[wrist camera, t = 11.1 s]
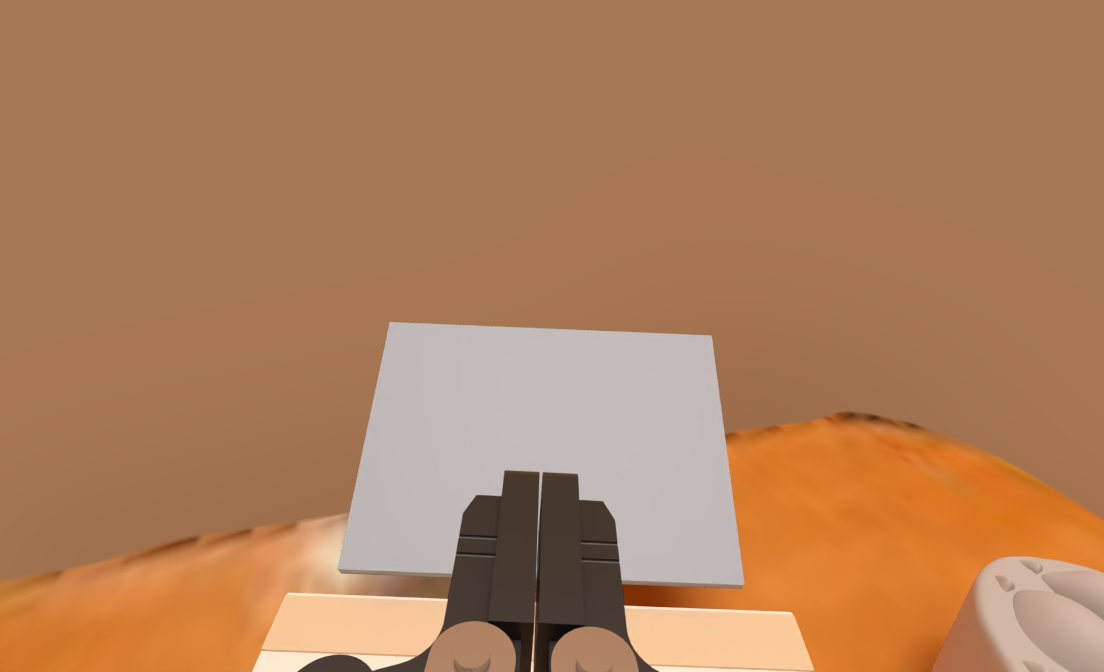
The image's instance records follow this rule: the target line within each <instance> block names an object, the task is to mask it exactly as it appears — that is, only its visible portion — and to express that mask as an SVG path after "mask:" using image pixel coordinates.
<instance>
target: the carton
mask: <svg viewBox="0 0 1104 672" xmlns="http://www.w3.org/2000/svg"><path fill="white" fill-rule="evenodd" d="M447 601H448V599H437V598H412V597H386V596H360V595H334V594H308V593H288V594H287V595H285V598H284V600H283V602H282V604H281V606H280V609H279V611H278V613H277V615H276V617H275V620H274V622H273V624H272V626H271V628H270V631H269V633H268V635H267V637H266V639H265V642H264V644H263V646H262V648H261V653H260V656H259V658H258V660H257V662H256V664H255V667H254V669H253V671H252V672H298V671H299V670H300V669H301V668H303V667H304V666H306V665H307V664H309V663H311V662H312V661H314V660H316V659H319V658H322V657H325V656H330V655H338V654H342V655H350V656H353V657H356V658H358V659H360V660H362V661H363V662H365V663H366V664H367V665H368V666H369V667H370V668H371V670H372V671H373V670H377V669H381V668H385V667H388V666H392V665H396V664H400V663H403V662H406V661H408V660H410V659H412V658H415V657H416V656H418V655H419V654H421V653H423V652H424V651H425V650H426V649H427V648H429V647H430V646H431V644H432V643H433V642H434V641H435V640H436V638H437V637H438V635H439V633H440V631H441V629H442V626H443V623H444V618H445V612H446V607H447ZM535 605H536V602H535ZM624 607H625V616H626V626H627V632H628V637H629V639H630V642H631V644H632V646H633V648H634V649H635V651H636V652H637V653H638V655H639V656H640V657H641V658H642V659H643V660H644V661H645V662H646V663H647V664H649V665H650V666H651V667H652V668H654V669H656V670H657V671H659V672H814V668H813V665H812V663H811V660H810V657H809V655H808V652H807V649H806V646H805V644H804V641H803V638H802V636H801V633H800V630H799V628H798V625H797V622H796V619H795V617H794V615H793V614H792V612H773V611H747V610H721V609H695V608H670V607H644V606H624ZM534 634H535V620H534ZM533 663H534V635H533V649H532V663H531V672H533Z"/></svg>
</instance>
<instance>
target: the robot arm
mask: <svg viewBox="0 0 1104 672" xmlns="http://www.w3.org/2000/svg"><path fill="white" fill-rule="evenodd" d="M539 479H540V472H531V471H512V470H505V471H504V479H503V488H502V496H491V495H476V496H475V498H474V499H473V500H472V502H471V503H470V504H469V506H468V507H467V508H466V510H465V511H464V512H463V515H462V521H461V527H460V533H459V538H458V544H457V550H456V556H455V561H454V567H453V572H452V578H451V584H450V589H449V595H448V601H447V607H446V612H445V618H444V623H443V626H442V629H441V631H440V633H439V635H438V637H437V638H436V640H435V641H434V642H433V643H432V644H431V646H430V647H429V648H427V649H426V650H425V651H424V652H423V653H421V654H419V655H418V656H416V657H415V658H412V659H410V660H408V661H406V662H403V663H400V664H396V665H392V666H388V667H385V668H381V669H377V670H373V671H372V670H371V668H370V667H369V666H368V665H367V664H366V663H365V662H363V661H362V660H360V659H358V658H356V657H353V656H350V655H342V654H338V655H330V656H325V657H322V658H319V659H316V660H314V661H312V662H311V663H309V664H307V665H306V666H304V667H303V668H301V669H300V670H299V671H298V672H531V663H532V649H533V635H534V663H533V672H659V671H657V670H656V669H654V668H652V667H651V666H650V665H649V664H647V663H646V662H645V661H644V660H643V659H642V658H641V657H640V656H639V655H638V653H637V652H636V651H635V649H634V648H633V646H632V644H631V642H630V639H629V637H628V632H627V626H626V616H625V607H624V598H623V588H622V579H621V569H620V564H619V551H618V546H617V543H618V541H617V532H616V523H615V519H614V518H613V516H612V515H611V513H610V511H609V510H608V508H607V507H606V505H605V504H604V502H603V501H592V500H579V481H578V474H572V473H553V472H543V474H542V487H541V502H540V516H539V531H538V507H539ZM537 535H538V549H537ZM536 564H537V576H536ZM535 592H536V605H535ZM534 620H535V634H534Z"/></svg>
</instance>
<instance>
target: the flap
mask: <svg viewBox="0 0 1104 672" xmlns="http://www.w3.org/2000/svg"><path fill="white" fill-rule="evenodd" d="M505 470H512V471H531V472H540V479H539V507H538V531H539V516H540V502H541V487H542V474H543V472H553V473H572V474H578V481H579V500H592V501H603V502H604V504H605V505H606V507H607V508H608V510H609V511H610V513H611V515H612V516H613V518H614V519H615V523H616V532H617V541H618V543H617V546H618V551H619V564H620V569H621V579H622V584H626V585H652V586H678V587H703V588H729V589H741V588H742V587H743V586H744V578H743V570H742V563H741V555H740V547H739V540H738V532H737V525H736V517H735V510H734V502H733V494H732V487H731V479H730V472H729V464H728V457H727V449H726V441H725V434H724V426H723V419H722V411H721V404H720V397H719V388H718V381H717V374H716V366H715V359H714V351H713V343H712V336H709V335H685V334H661V333H637V332H613V331H589V330H565V329H541V328H517V327H493V326H492V327H491V326H469V325H444V324H421V323H396V322H390V324H389V329H388V334H387V338H386V343H385V348H384V353H383V358H382V363H381V367H380V372H379V376H378V381H377V386H376V391H375V396H374V400H373V405H372V410H371V414H370V419H369V424H368V429H367V433H366V438H365V443H364V447H363V453H362V457H361V462H360V466H359V472H358V476H357V481H356V485H355V490H354V495H353V500H352V505H351V509H350V514H349V518H348V523H347V528H346V533H345V537H344V542H343V547H342V552H341V556H340V561H339V566H338V570H339V571H340V572H341V573H344V574H370V575H395V576H421V577H447V578H452V572H453V567H454V561H455V556H456V550H457V544H458V538H459V533H460V527H461V521H462V515H463V512H464V511H465V510H466V508H467V507H468V506H469V504H470V503H471V502H472V500H473V499H474V498H475V496H476V495H491V496H502V488H503V479H504V471H505ZM537 549H538V535H537ZM536 576H537V564H536Z"/></svg>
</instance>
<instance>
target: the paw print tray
mask: <svg viewBox="0 0 1104 672" xmlns="http://www.w3.org/2000/svg"><path fill="white" fill-rule="evenodd" d="M931 672H1104V573H1103V572H1100V571H1097V570H1094V569H1091V568H1088V567H1084V566H1080V565H1076V564H1072V563H1067V562H1062V561H1056V560H1051V559H1043V558H1036V557H1027V556H1009V557H1003V558H1000V559H997V560H995V561H993V562H991V563H989V564H988V565H986V566H985V567H984V568H983V569H982V570H981V571H980V572H979V574H978V575H977V577H976V579H975V581H974V583H973V585H972V587H971V589H970V591H969V593H968V595H967V597H966V599H965V601H964V603H963V605H962V607H961V609H960V611H959V613H958V615H957V618H956V620H955V622H954V624H953V626H952V628H951V630H950V632H949V634H948V636H947V638H946V640H945V642H944V644H943V647H942V649H941V651H940V653H939V655H938V657H937V659H936V661H935V663H934V665H933V667H932V670H931Z"/></svg>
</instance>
